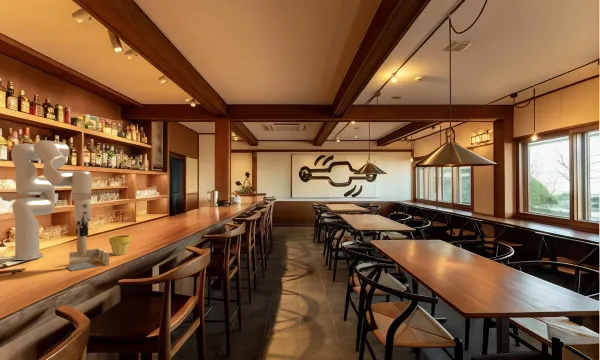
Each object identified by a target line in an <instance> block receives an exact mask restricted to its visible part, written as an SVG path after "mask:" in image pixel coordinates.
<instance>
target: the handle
mask: <svg viewBox="0 0 600 360" xmlns="http://www.w3.org/2000/svg"><path fill="white" fill-rule="evenodd" d="M89 227H90V223H88V228H89ZM73 228H74V229H75V230H76V229H77V230H78V234H77V235H76V237H77V238H76V252H77V253H78V257H84V256H86V251H87V250H88V249H87V248H88V241H87V240H88V238H87V237H88V236H82V237H80V228H81V227H80V224H77V225H76V224H74V225H73Z"/></svg>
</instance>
